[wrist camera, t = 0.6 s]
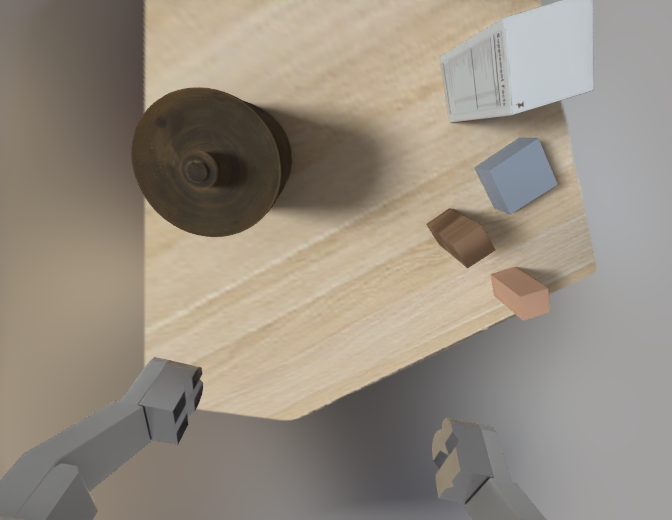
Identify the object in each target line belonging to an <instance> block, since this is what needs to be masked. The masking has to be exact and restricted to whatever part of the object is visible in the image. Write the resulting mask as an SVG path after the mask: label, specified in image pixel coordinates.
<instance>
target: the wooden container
mask: <svg viewBox="0 0 672 520" xmlns="http://www.w3.org/2000/svg"><path fill="white" fill-rule="evenodd" d="M291 161H292V159H291V149H290V145H289V142H288V139H287V136H286V134H285V132H284V131H283V129H282V128H281V126H280V125H279V123H278V122H277V121H276V120H275V119H274V118H273V117H272V116H271V115H269V114H268V113H267V112H265V111H263V110H262V109H260V108H258V107H257V106H255V105H253V104H251V103H248V102H245V101H242V100H241V99H239V98H237V97H235V96H233V95H230V94H228V93H225V92H222V91H219V90H215V89H210V88H186V89H181V90H177V91H174V92H171V93H169V94H167V95H165V96H163V97H162V98H160V99H158V100H157V101H156V102H154V103H153V104H152V105H151V106H150V107H149V108H148V109H147V111H146V112H145V113H144V114H143V116H142V118H141V119H140V121H139V123H138V125H137V127H136V130H135V133H134V137H133V142H132V164H133V169H134V174H135V177H136V180H137V182H138V185H139V187H140V189H141V191H142V193H143V195H144V196H145V198H146V199H147V201H148V202H149V204H150V205H151V206H152V207H153V208H154V210H155V211H156V212H157V213H158V214H160V215H161V216H162V217H163V218H164V219H165V220H167V221H168V222H170V223H171V224H173V225H174V226H176V227H178V228H180V229H182V230H184V231H186V232H189V233H192V234H196V235H201V236H207V237H223V236H229V235H233V234H237V233H240V232H242V231H244V230H246V229H248V228H250V227H252V226H253V225H255V224H256V223H257V222H258V221H260V220H261V219H262V218H263V217H264V216H265V215H266V214H267V213H268V211H269V210H270V209H271V207H272V206H273V204H274V203H275V201H276V199H277V198H278V196H279V195H280V193H281V192H282V190H283V188H284V186H285V184H286V182H287V180H288V177H289V174H290V170H291Z"/></svg>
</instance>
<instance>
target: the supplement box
mask: <svg viewBox="0 0 672 520" xmlns="http://www.w3.org/2000/svg"><path fill="white" fill-rule="evenodd" d="M593 61H594V59H593V0H561V1H558V2H555V3H552V4H549V5H545V6H542V7H538V8H535V9H532V10H528V11H525V12H521V13H518V14H515V15H511V16H508V17H505V18H502V19H500V20H499V21H497V22H495V23H494V24H492V25H491V26H489V27H487V28H486V29H484V30H482V31H481V32H479V33H477V34H475V35H474V36H472V37H470V38H469V39H467V40H466V41H465V42H463V43H461V44H459V45H458V46H456V47H454V48H453V49H451V50H450V51H448V52H446V53H445V54H443V55H441V56H440V62H441V69H442V76H443V82H444V88H445V95H446V102H447V108H448V115H449V121H450V123H451V122H459V121H467V120H476V119H485V118H493V117H502V116H510V115H514V114H517V113H520V112H524V111H527V110H530V109H534V108H537V107H540V106H543V105H547V104H550V103H553V102H557V101H560V100H563V99H567V98H570V97H574V96H577V95H580V94H583V93H587V92H590V91H593V90H594V62H593Z"/></svg>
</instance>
